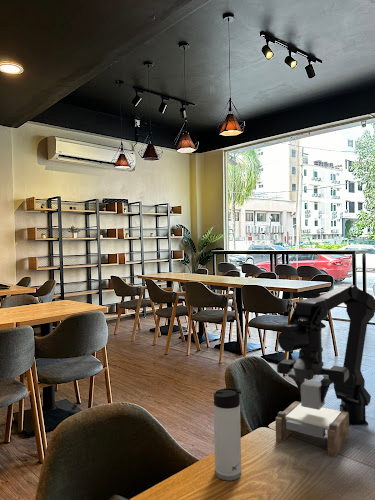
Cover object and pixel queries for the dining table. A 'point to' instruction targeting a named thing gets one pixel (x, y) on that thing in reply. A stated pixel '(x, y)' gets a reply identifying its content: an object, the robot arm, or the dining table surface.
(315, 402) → the light gray block
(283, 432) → the trapdoor frame
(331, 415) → the trapdoor
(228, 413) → the travel mug
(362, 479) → the dining table surface
